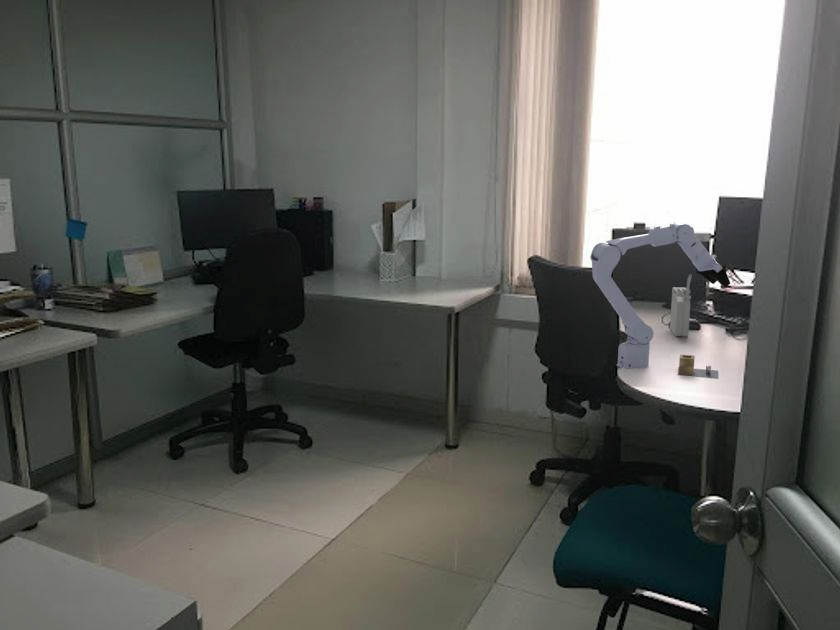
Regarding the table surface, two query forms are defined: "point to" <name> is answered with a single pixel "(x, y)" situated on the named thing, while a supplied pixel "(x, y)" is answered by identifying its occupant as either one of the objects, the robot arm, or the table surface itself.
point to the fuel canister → (680, 310)
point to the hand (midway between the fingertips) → (721, 283)
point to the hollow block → (686, 364)
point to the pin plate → (701, 373)
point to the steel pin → (708, 369)
